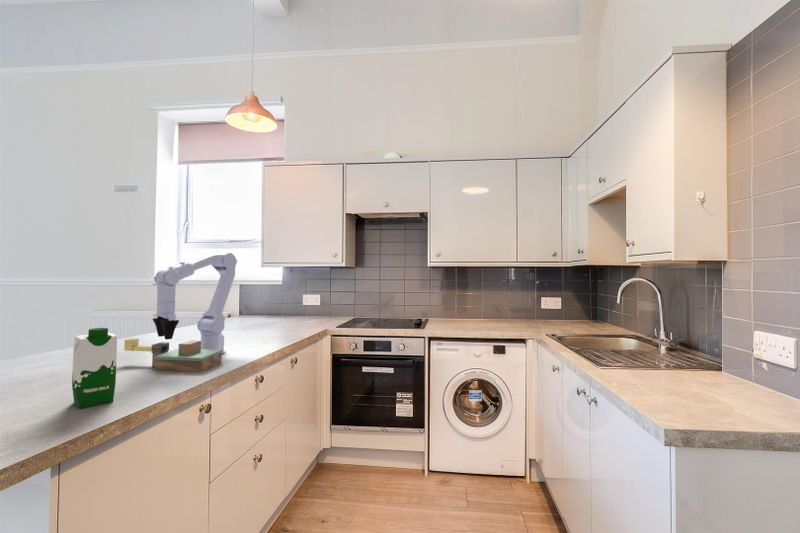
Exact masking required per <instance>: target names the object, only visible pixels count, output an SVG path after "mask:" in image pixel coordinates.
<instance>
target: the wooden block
mask: <svg viewBox="0 0 800 533" xmlns="http://www.w3.org/2000/svg"><path fill="white" fill-rule="evenodd" d="M139 340H140V339H139V338H128V339H127V338H126V339H124V349H123V351H125V352H130V351H131V352H152V345H140V343H139ZM162 350H163V347H161V351H162Z"/></svg>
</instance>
